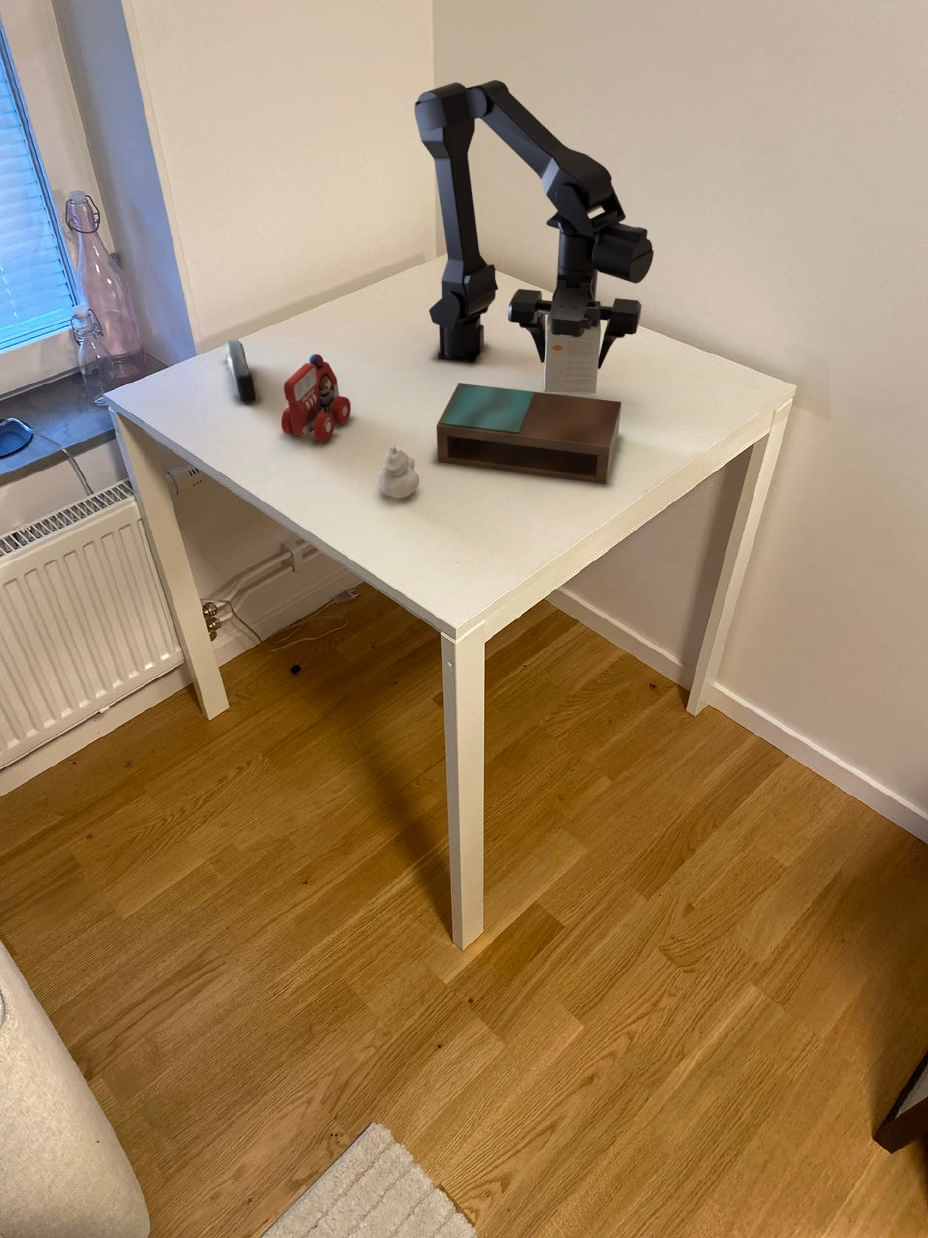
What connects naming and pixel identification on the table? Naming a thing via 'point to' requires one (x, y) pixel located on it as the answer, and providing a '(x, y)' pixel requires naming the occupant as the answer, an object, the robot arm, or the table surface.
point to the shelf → (529, 432)
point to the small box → (572, 361)
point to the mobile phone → (240, 371)
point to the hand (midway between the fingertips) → (570, 364)
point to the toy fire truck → (314, 401)
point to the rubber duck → (398, 474)
